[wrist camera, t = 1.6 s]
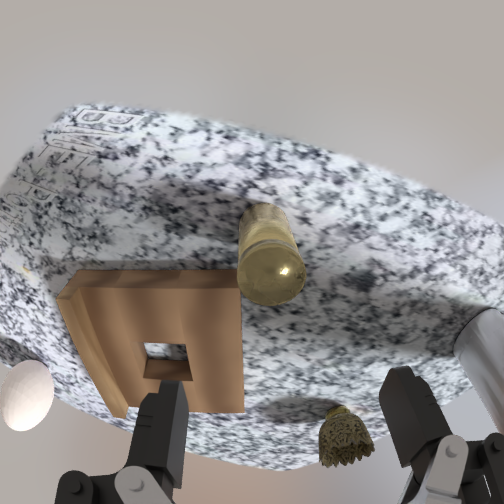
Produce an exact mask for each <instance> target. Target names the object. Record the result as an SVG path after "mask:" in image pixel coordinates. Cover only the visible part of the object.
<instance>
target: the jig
mask: <svg viewBox="0 0 504 504" xmlns="http://www.w3.org/2000/svg"><path fill="white" fill-rule="evenodd" d="M56 301H57V304H58V307H59V309H60V312H61V314H62V317H63V319H64V321H65V324H66V326H67V328H68V331H69V333H70V335H71V338H72V340H73V342H74V344H75V346H76V349H77V351H78V353H79V355H80V357H81V359H82V361H83V363H84V365H85V367H86V369H87V371H88V373H89V375H90V377H91V379H92V380H93V382H94V384H95V386H96V388H97V390H98V391H99V393H100V395H101V397H102V398H103V400H104V402H105V404H106V405H107V407H108V409H109V410H110V412H111V414H112V415H113V417H116V418H123V419H125V418H126V414H127V411H128V407H129V406H130V407H138V408H139V407H140V403H141V402H142V400H143V399H144V398H145V396H146V395H147V394H148V393H158V391H159V386H160V383H161V380H177V381H182V383H183V386H184V390H185V394H186V397H187V401H188V406H189V412H203V413H244V376H243V348H242V318H241V291H240V289H239V287H238V283H237V269H215V270H78V271H77V272H76V274H75V275H74V276H73V277H72V278H71V280H70V281H69V282H68V283H67V285H66V286H65V287H64V289H63V290H62V291H61V292H60V294H59V295H58V296H57V298H56ZM143 342H147V343H168V344H185V345H186V350H187V355H188V359H189V361H178V360H157V359H148V356H147V353H146V349H145V346H144V343H143Z"/></svg>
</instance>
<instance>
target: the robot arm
mask: <svg viewBox="0 0 504 504" xmlns="http://www.w3.org/2000/svg"><path fill="white" fill-rule="evenodd" d="M453 353H454V355H455V357H456V359H457V360H458V362H459V363H460V365H461V366H462V368H463V370H464V371H465V373H466V375H467V376H468V378H469V380H470V381H471V383H472V385H473V386H474V388H475V390H476V391H477V393H478V395H479V397H480V398H481V400H482V402H483V403H484V405H485V407H486V409H487V411H488V413H489V415H490V416H491V418H492V420H493V422H494V424H495V426H496V428H497V430H498V431H499V433H492V434H490V435H489V436H488V437H487V438H486V439H485V440H481V441H465V440H464V439H463V438H462V437H460V436H457V435H453V433H452V432H451V430H450V428H449V426H448V423H447V421H446V419H445V417H444V415H443V413H442V411H441V409H440V407H439V405H438V404H437V401H436V398H435V396H433V393H432V391H431V389H430V387H429V385H428V383H427V382H426V381H424V380H423V379H422V378H421V377H420V376H416V377H415V375H414V373H413V371H412V369H411V368H410V367H409V366H402V367H396V368H391V369H390V370H389V372H388V374H387V376H386V378H385V381H384V383H383V385H382V387H381V389H380V392H379V403H380V406H381V409H382V412H383V414H384V417H385V420H386V423H387V426H388V428H389V431H390V434H391V437H392V439H393V443H394V446H395V449H396V451H397V454H398V458H399V461H400V464H401V467H402V468H404V467H407V466H410V465H411V467H412V472H411V473H410V475H409V478H408V481H407V483H406V485H405V487H404V490H403V493H402V494H401V497H400V499H399V501H398V503H397V504H504V314H501V313H500V312H499V311H498V310H497V309H488V310H486V311H483V312H482V313H480V314H478V315H477V316H476V317H475V318H473V319H472V320H471V321H470V322H469V323H468V324H467V325H466V326H465V328H464V329H463V330H462V331H461V333H460V334H459V336H458V338H457V340H456V342H455V344H454V349H453ZM188 418H189V406H188V401H187V397H186V394H185V390H184V386H183V383H182V381H177V380H161V383H160V386H159V391H158V393H148V394H147V395H146V396H145V398H144V399H143V400H142V402H141V403H140V407H139V412H138V417H137V420H136V426H135V428H134V433H133V437H132V441H131V446H130V450H129V456H128V459H127V462H126V464H125V466H124V467H123V468H122V469H121V470H120V471H119V472H116V473H114V474H111V475H102V476H90V477H89V476H87V475H86V474H84V473H83V472H80V471H74V470H73V471H68V472H66V473H65V474H63V475H62V477H61V478H60V480H59V483H58V488H57V493H56V498H55V504H175V502H174V501H173V500H172V496H173V488H178V489H181V485H182V474H183V464H184V453H185V445H186V436H187V427H188ZM484 475H485V478H486V481H487V484H488V487H489V490H490V493H491V497H490V494H489V491H488V488H487V485H486V481H485V478H484Z"/></svg>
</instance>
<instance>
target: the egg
mask: <svg viewBox="0 0 504 504" xmlns="http://www.w3.org/2000/svg"><path fill="white" fill-rule="evenodd" d="M53 397H54V383H53V378H52V376H51V373H50V371H49V369H48V368H47V367H46V366H45V365H44V364H43V363H41V362H39V361H36V360H26V361H22V362H20V363H18V364H17V365H15V366H14V367H13V368H12V369H11V370H10V372H9V373H8V374H7V376H6V378H5V380H4V382H3V385H2V389H1V395H0V409H1V413H2V416H3V419H4V421H5V422H6V424H7V425H8V426H9V427H10V428H12V429H13V430H17V431H25V430H29V429H31V428H33V427H34V426H36V425H37V424H38V423H39V422H40V421H42V419H43V418H44V417H45V416H46V414H47V412H48V410H49V409H50V406H51V404H52V401H53Z"/></svg>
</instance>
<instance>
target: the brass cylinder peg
mask: <svg viewBox="0 0 504 504" xmlns="http://www.w3.org/2000/svg"><path fill="white" fill-rule="evenodd" d="M305 281H306V268H305V265H304V262H303V260H302V257H301V255H300V253H299V251H298V248H297V245H296V242H295V240H294V237H293V234H292V231H291V229H290V226H289V223H288V220H287V218H286V216H285V214H284V212H283V211H282V210H281V209H280V208H279V207H277V206H275V205H273V204H269V203H259V204H255V205H253V206H251V207H249V208H248V209H247V210H246V211H245V212H244V213H243V214H242V216H241V218H240V222H239V247H238V265H237V283H238V287H239V289H240V291H241V292H242V294H243V295H244V296H245V297H246V298H247V299H249V300H250V301H252V302H254V303H257V304H260V305H265V306H275V305H280V304H283V303H286V302H288V301H290V300H292V299H293V298H294V297H295V296H297V295H298V294H299V292H300V291H301V290H302V288H303V286H304V284H305Z"/></svg>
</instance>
